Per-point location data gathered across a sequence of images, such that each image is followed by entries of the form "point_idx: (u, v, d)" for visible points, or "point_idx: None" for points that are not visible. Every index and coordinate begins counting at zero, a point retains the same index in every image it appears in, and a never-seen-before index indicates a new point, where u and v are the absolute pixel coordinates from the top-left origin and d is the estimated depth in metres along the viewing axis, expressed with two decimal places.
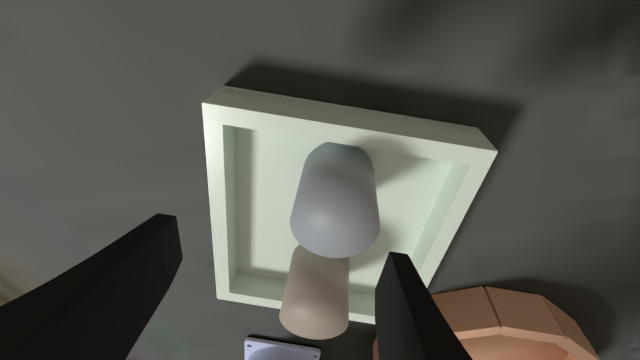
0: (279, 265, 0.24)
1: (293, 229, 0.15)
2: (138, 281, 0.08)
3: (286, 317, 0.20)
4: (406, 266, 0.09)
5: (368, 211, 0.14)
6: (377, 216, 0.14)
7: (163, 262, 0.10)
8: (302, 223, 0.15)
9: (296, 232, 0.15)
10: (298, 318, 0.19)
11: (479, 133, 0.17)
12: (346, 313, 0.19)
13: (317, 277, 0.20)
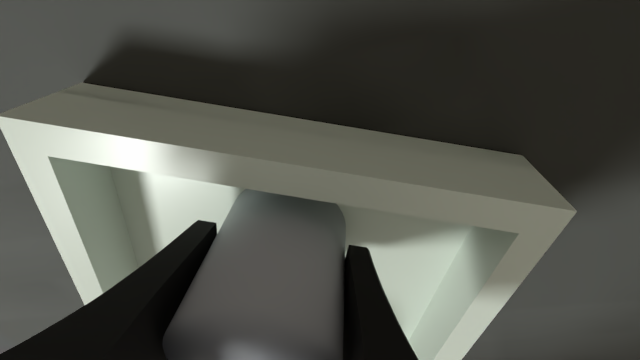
0: None
1: None
2: (185, 289, 0.08)
3: None
4: (362, 259, 0.09)
5: (316, 347, 0.07)
6: (335, 354, 0.07)
7: None
8: (189, 357, 0.08)
9: None
10: None
11: (530, 168, 0.10)
12: None
13: None
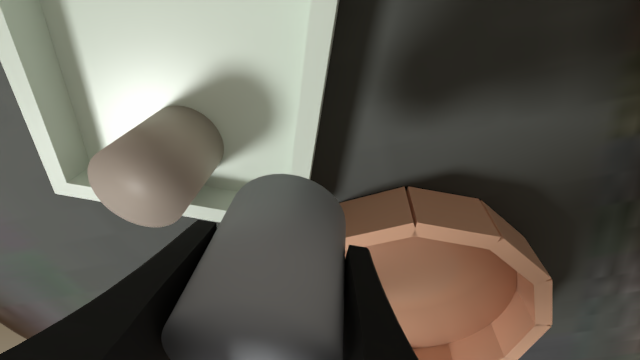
0: None
1: None
2: None
3: (100, 187, 0.14)
4: (362, 259, 0.09)
5: (314, 339, 0.07)
6: (334, 346, 0.07)
7: None
8: (188, 353, 0.08)
9: None
10: (116, 188, 0.14)
11: None
12: (177, 176, 0.13)
13: (144, 131, 0.14)
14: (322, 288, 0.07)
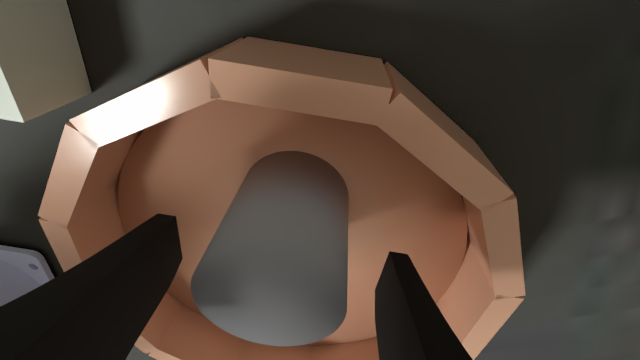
0: None
1: (203, 309, 0.09)
2: (138, 281, 0.08)
3: None
4: (406, 266, 0.09)
5: (321, 278, 0.08)
6: (338, 285, 0.08)
7: (163, 262, 0.10)
8: (214, 300, 0.09)
9: (209, 313, 0.09)
10: None
11: None
12: None
13: None
14: (326, 239, 0.09)
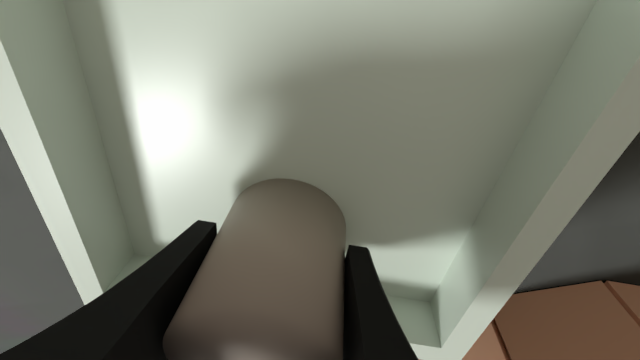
0: None
1: None
2: (185, 289, 0.08)
3: (182, 357, 0.08)
4: (362, 259, 0.09)
5: None
6: None
7: None
8: None
9: None
10: None
11: None
12: (336, 349, 0.07)
13: (262, 253, 0.08)
14: None
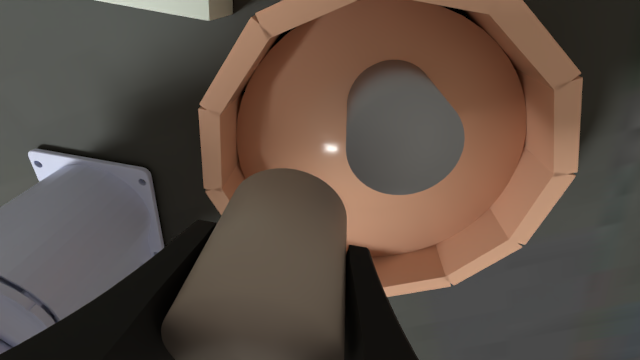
0: None
1: (350, 157, 0.12)
2: None
3: (183, 350, 0.08)
4: (362, 259, 0.09)
5: (451, 121, 0.11)
6: (461, 127, 0.11)
7: None
8: (362, 147, 0.12)
9: (353, 161, 0.12)
10: (213, 351, 0.07)
11: None
12: (334, 331, 0.07)
13: (253, 240, 0.07)
14: None
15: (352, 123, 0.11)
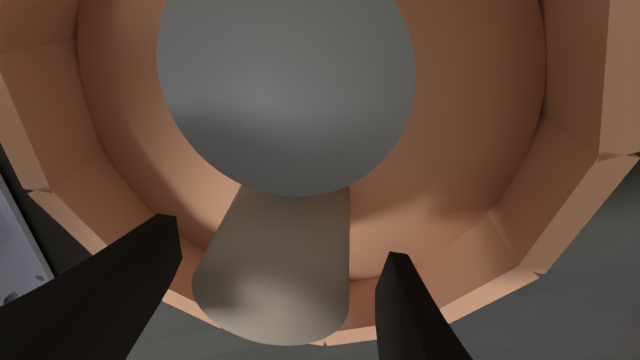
0: None
1: (180, 119, 0.06)
2: (138, 281, 0.08)
3: (210, 300, 0.09)
4: (406, 266, 0.09)
5: (377, 17, 0.05)
6: (406, 34, 0.05)
7: (163, 262, 0.10)
8: (196, 95, 0.05)
9: (190, 128, 0.06)
10: (236, 301, 0.09)
11: None
12: (340, 279, 0.08)
13: (269, 205, 0.09)
14: None
15: (161, 36, 0.05)
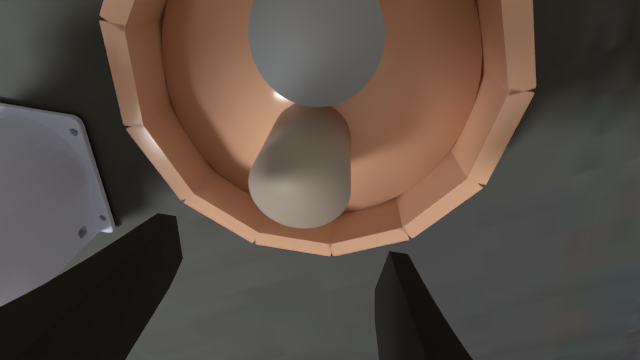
0: None
1: (256, 57, 0.10)
2: (138, 281, 0.08)
3: (259, 190, 0.13)
4: (406, 266, 0.09)
5: None
6: (379, 7, 0.09)
7: (163, 262, 0.10)
8: (267, 42, 0.10)
9: (261, 63, 0.10)
10: (276, 190, 0.13)
11: None
12: (345, 169, 0.12)
13: (298, 127, 0.13)
14: None
15: (251, 9, 0.10)
